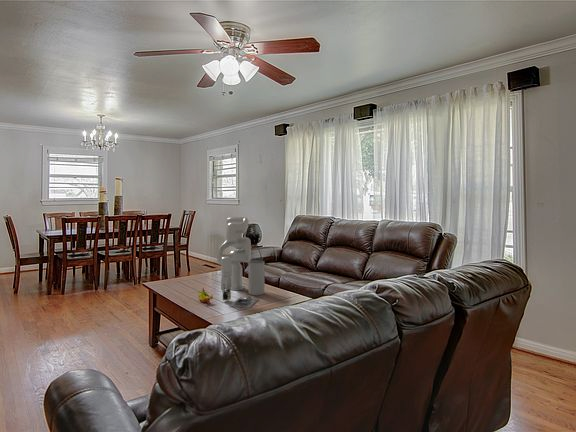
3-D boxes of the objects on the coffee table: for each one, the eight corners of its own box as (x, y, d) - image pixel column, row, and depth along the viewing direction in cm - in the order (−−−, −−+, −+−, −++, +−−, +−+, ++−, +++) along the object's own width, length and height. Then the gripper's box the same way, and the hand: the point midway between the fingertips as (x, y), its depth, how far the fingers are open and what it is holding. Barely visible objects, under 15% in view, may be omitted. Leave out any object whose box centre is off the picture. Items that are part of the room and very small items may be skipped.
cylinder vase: (265, 291, 297) (265, 260, 296) (263, 295, 285) (263, 263, 283) (250, 291, 299) (250, 260, 297) (247, 295, 286) (247, 263, 285)
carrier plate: (240, 298, 278) (240, 295, 278) (258, 299, 275) (258, 296, 275) (230, 306, 259) (230, 302, 258) (249, 307, 256) (249, 304, 255)
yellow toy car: (204, 305, 260) (204, 291, 260) (194, 299, 275) (194, 286, 274) (213, 303, 264) (213, 290, 264) (203, 297, 279) (202, 284, 278)
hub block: (225, 298, 273) (225, 291, 273) (230, 298, 272) (230, 292, 272) (222, 300, 269) (222, 293, 268) (228, 300, 267) (228, 293, 267)
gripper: (226, 270, 278) (226, 294, 279) (217, 276, 261) (217, 301, 263) (235, 271, 276) (235, 295, 278) (227, 276, 260) (227, 302, 261)
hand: (226, 298), depth 270 cm, fingers closed on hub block, 4 cm apart
